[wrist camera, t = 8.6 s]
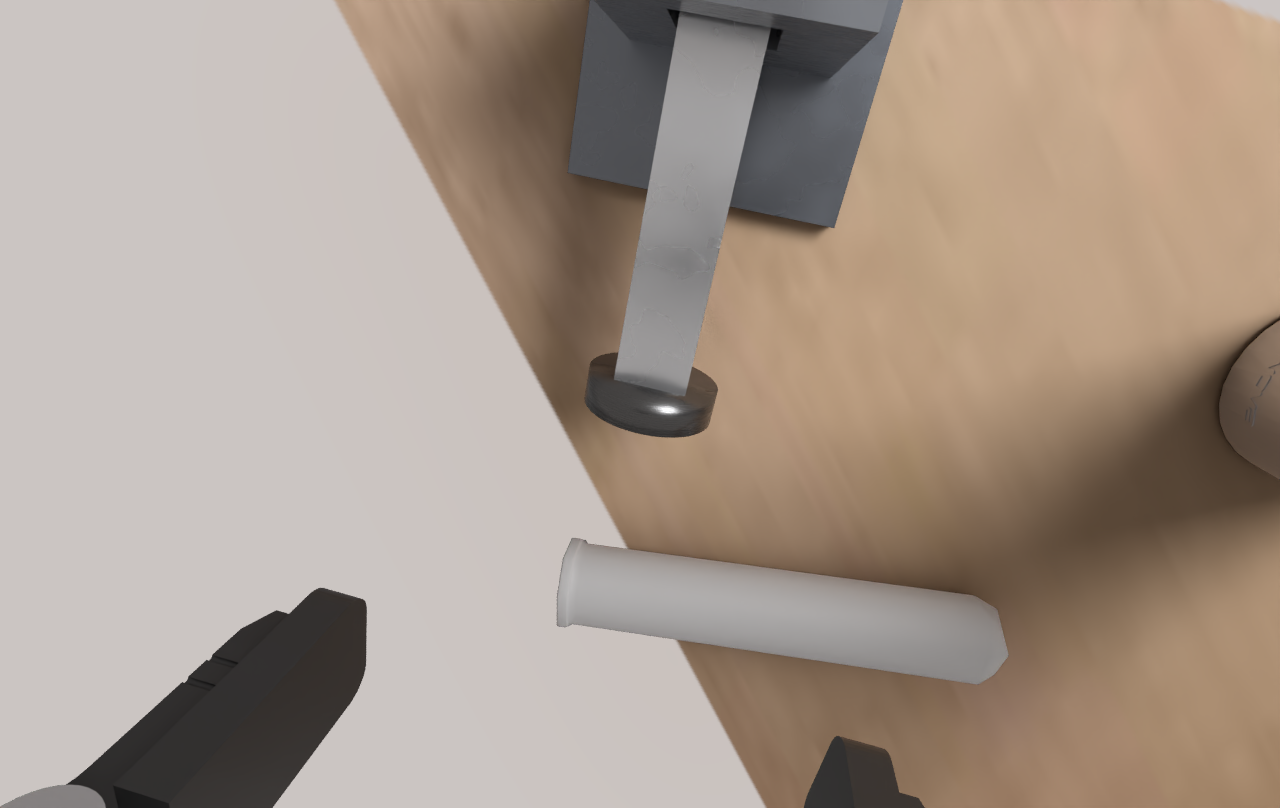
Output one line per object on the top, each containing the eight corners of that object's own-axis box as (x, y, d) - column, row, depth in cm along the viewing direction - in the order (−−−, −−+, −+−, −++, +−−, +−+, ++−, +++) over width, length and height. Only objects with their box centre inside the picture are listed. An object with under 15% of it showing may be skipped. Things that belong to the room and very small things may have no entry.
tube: (1032, 614, 31) (560, 550, 34) (1018, 713, 31) (552, 642, 34) (985, 579, 36) (581, 526, 39) (974, 664, 37) (573, 606, 40)
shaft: (826, -53, 22) (853, -119, 17) (712, 398, 29) (706, 449, 24) (676, -79, 22) (656, -151, 17) (599, 372, 29) (570, 417, 24)
